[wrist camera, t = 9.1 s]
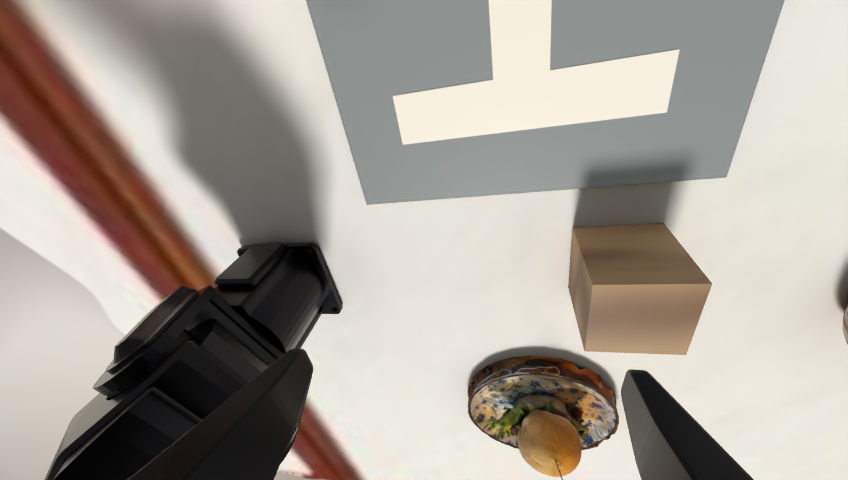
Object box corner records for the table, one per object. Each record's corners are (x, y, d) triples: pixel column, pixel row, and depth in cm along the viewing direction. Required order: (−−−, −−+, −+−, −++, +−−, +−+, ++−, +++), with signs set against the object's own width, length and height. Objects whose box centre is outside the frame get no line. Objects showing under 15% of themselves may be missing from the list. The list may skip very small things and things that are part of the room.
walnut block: (648, 286, 20) (685, 354, 16) (568, 287, 21) (584, 351, 17) (663, 222, 18) (712, 283, 14) (572, 227, 19) (592, 284, 15)
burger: (444, 396, 31) (431, 489, 25) (523, 331, 24) (531, 435, 18) (549, 447, 32) (560, 546, 26) (650, 399, 26) (696, 516, 20)
